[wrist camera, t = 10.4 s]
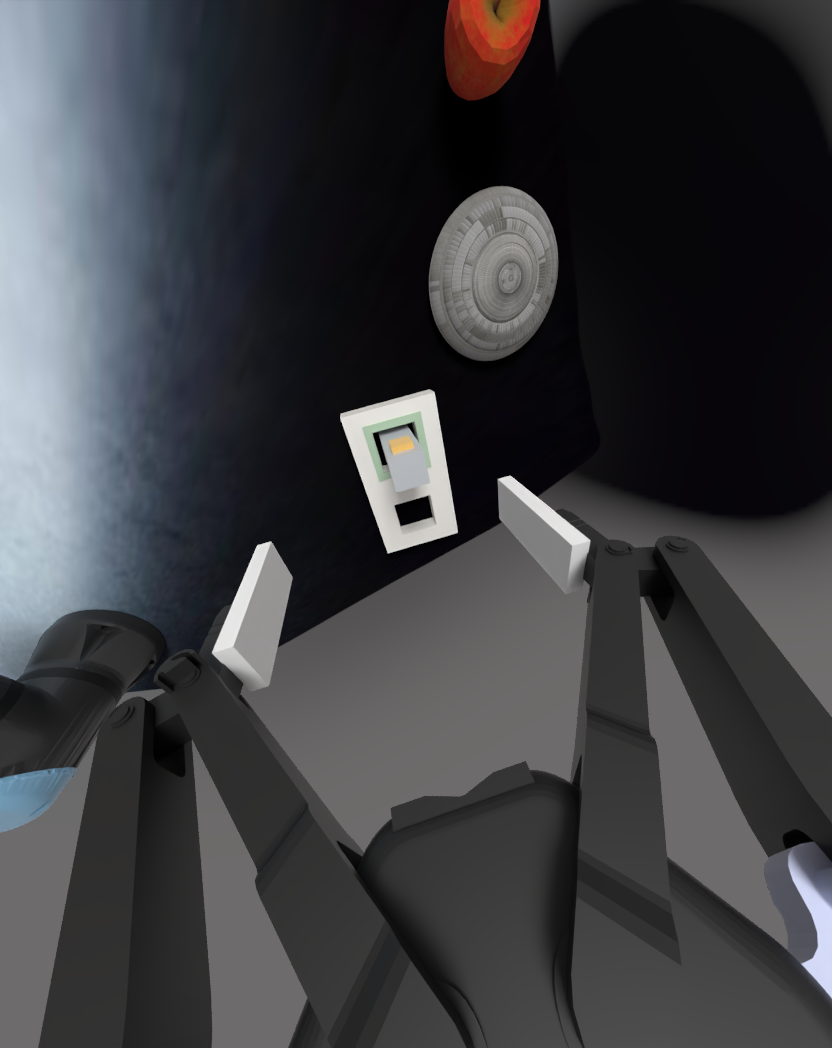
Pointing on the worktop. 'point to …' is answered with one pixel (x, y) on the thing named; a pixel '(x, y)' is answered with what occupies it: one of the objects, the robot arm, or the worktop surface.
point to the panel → (378, 477)
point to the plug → (404, 458)
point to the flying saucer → (493, 273)
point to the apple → (486, 43)
